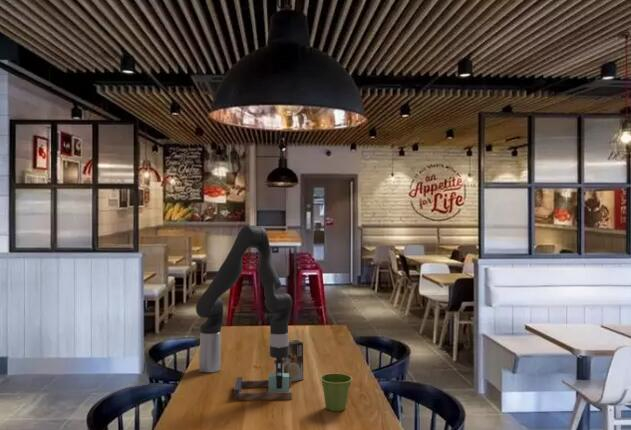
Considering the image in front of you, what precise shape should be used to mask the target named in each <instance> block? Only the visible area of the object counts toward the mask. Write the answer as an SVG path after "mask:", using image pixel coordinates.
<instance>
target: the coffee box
mask: <svg viewBox="0 0 631 430" xmlns="http://www.w3.org/2000/svg"><path fill="white" fill-rule="evenodd" d="M282 360H284V373H289V380H291V383H292V382H296V381H297V382H298V381H303V380H304V342H302V341H301V340H298V339H293V340H289V355H288V356H287V357H285V358H282Z"/></svg>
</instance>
